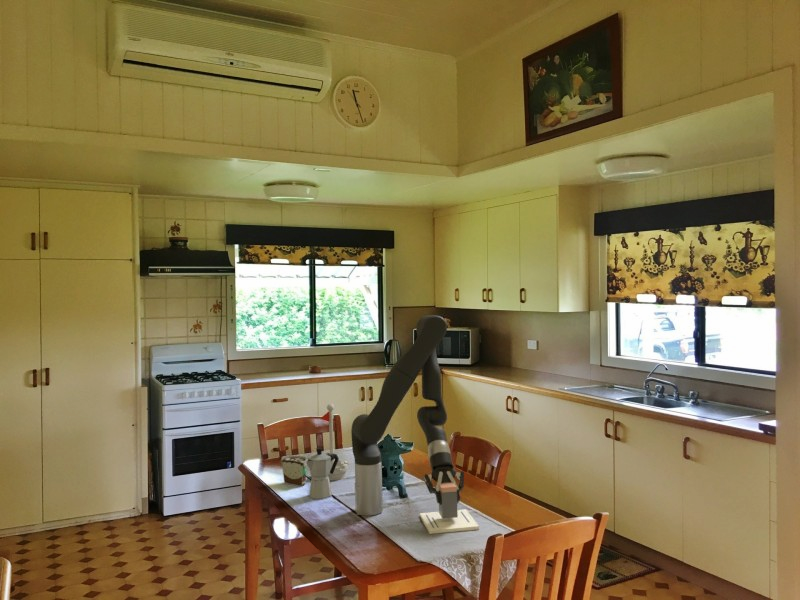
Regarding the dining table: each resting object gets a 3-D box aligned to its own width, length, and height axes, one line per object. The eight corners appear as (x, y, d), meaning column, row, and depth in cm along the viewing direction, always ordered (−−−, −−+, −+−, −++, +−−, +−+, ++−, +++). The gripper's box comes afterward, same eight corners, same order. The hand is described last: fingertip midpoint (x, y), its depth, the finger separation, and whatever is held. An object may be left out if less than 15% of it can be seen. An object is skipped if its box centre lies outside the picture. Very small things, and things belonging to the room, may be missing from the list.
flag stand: (334, 470, 283) (332, 399, 282) (355, 475, 274) (352, 403, 273) (310, 477, 274) (307, 404, 273) (330, 483, 265) (327, 408, 264)
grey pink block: (442, 518, 216) (441, 487, 215) (439, 513, 220) (438, 483, 220) (457, 517, 216) (456, 486, 216) (453, 512, 221) (453, 482, 221)
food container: (315, 482, 266) (314, 457, 266) (305, 487, 261) (304, 461, 261) (291, 478, 273) (290, 454, 273) (281, 482, 268) (280, 457, 267)
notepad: (429, 533, 209) (429, 530, 209) (419, 516, 225) (419, 513, 225) (479, 529, 212) (478, 526, 212) (465, 512, 228) (465, 509, 228)
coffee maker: (313, 502, 242) (311, 453, 242) (299, 497, 249) (298, 449, 248) (346, 492, 252) (344, 445, 252) (332, 487, 259) (330, 441, 258)
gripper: (420, 452, 224) (429, 499, 213) (462, 449, 226) (472, 495, 215) (418, 463, 229) (426, 510, 218) (458, 460, 232) (468, 506, 220)
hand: (449, 502), depth 216 cm, fingers closed on grey pink block, 5 cm apart
